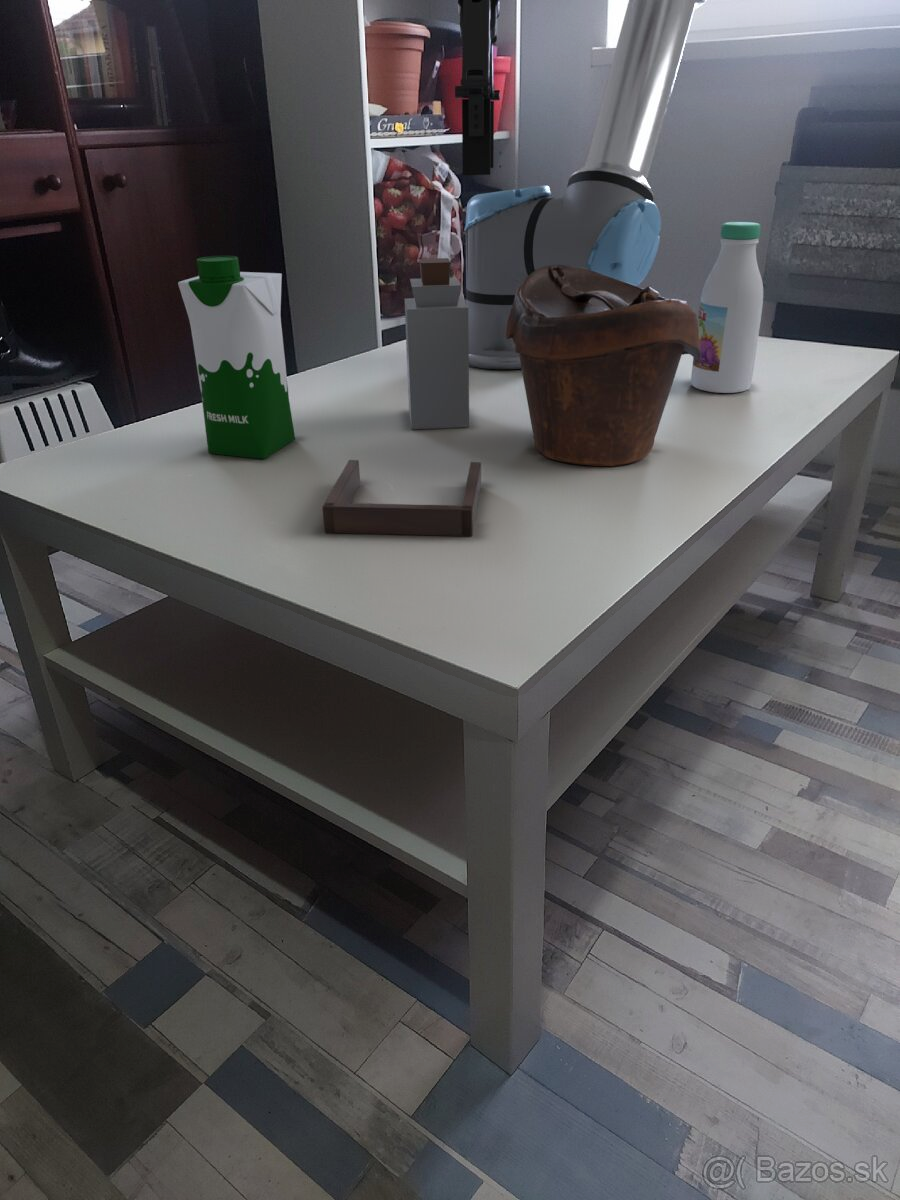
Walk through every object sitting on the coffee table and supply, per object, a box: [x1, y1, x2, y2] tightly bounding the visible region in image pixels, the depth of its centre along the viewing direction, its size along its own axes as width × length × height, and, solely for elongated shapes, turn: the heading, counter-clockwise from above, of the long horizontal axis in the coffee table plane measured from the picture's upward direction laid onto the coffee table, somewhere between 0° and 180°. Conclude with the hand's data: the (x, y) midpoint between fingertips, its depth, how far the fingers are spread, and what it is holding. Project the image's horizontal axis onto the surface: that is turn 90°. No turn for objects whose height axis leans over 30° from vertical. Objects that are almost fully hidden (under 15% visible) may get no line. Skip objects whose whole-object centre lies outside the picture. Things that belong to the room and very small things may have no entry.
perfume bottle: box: [404, 257, 470, 430], centre depth 102 cm, size 7×7×18 cm
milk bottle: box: [690, 221, 764, 394], centre depth 113 cm, size 8×8×20 cm
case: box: [506, 265, 701, 467], centre depth 92 cm, size 18×20×18 cm
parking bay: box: [321, 459, 482, 537], centre depth 82 cm, size 12×13×2 cm
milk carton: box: [177, 255, 296, 460], centre depth 94 cm, size 9×9×20 cm
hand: (479, 171), depth 93 cm, fingers open, 13 cm apart
